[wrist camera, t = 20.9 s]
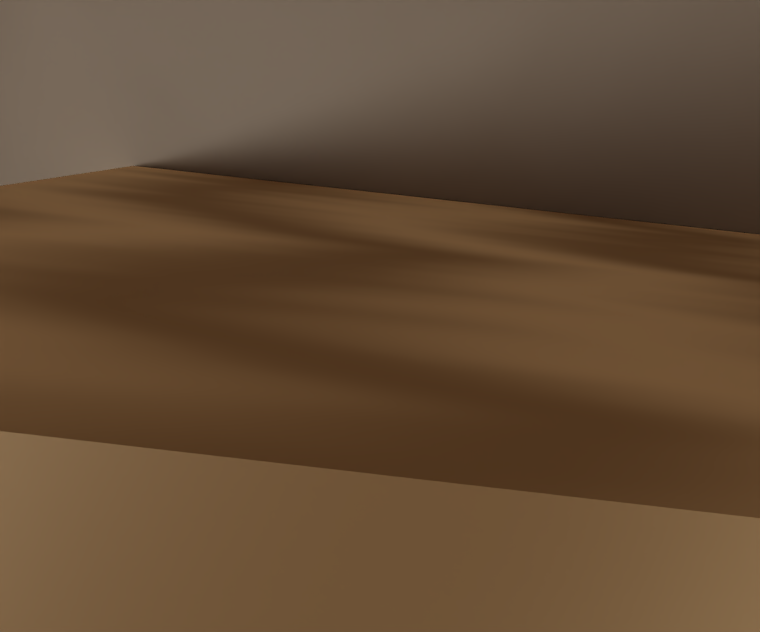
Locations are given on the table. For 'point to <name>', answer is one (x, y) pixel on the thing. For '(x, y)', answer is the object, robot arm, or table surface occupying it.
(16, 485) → the shelf
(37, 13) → the table surface
